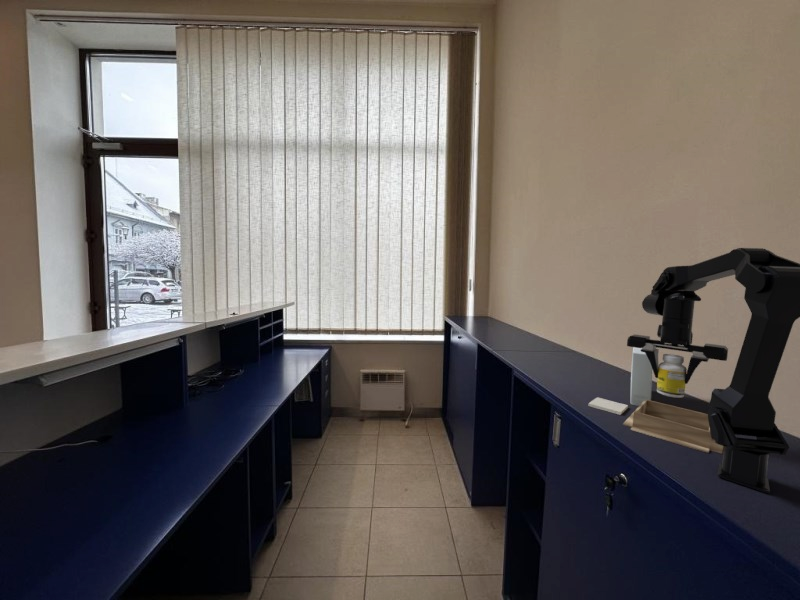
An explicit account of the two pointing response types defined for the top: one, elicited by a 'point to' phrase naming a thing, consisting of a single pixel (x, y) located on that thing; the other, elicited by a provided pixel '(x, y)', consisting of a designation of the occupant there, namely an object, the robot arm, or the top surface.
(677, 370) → the supplement bottle
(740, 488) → the top surface
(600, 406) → the tile
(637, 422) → the light brown piece
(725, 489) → the top surface
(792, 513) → the top surface
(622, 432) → the top surface
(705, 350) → the robot arm
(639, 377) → the skincare box
